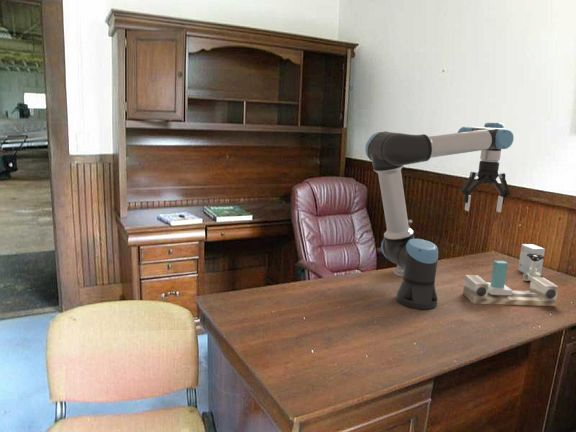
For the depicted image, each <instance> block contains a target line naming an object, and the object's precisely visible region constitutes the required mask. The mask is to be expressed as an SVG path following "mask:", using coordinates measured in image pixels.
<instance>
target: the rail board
mask: <svg viewBox="0 0 576 432" xmlns="http://www.w3.org/2000/svg"><path fill="white" fill-rule="evenodd" d="M487 282H488V281H485V280H484V279H483V278H482V277H481V276H480V275H477V274H476V275H475V274H465V276H464V284H463V290H462V294H463V295H464V296H465V297H466V298H467V299H468V300H469V301H470V303H472V304H478V305H479V304H481V305H483V304H484V305H511V306H513V305H514V306H538V307H539V306H542V307H546V306H547V307H555V306H556V302H557V296H558V290H559V286H558V285H556V284H555V283H553V282H552V281H550V280H548V279H547V278H545V277H542V276H541V277H531V281H530V282H529V290H512V295H509V296H506V295H488V286H489V284H488V283H487Z"/></svg>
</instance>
